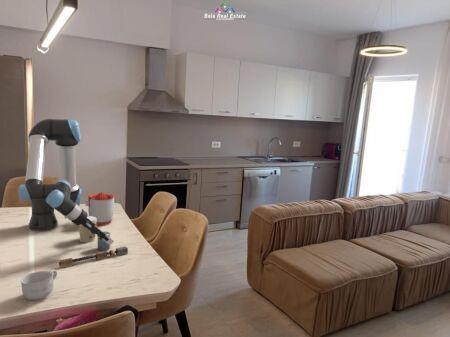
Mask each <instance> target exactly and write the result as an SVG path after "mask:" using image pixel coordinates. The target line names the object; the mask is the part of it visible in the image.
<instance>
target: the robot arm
mask: <svg viewBox="0 0 450 337" xmlns="http://www.w3.org/2000/svg"><path fill="white" fill-rule="evenodd" d="M81 140H82V136H81V128H80V124H79V122H78V120H74V119H58V118H57V119H56V118H55V119H53V118H45V119H42V120H39V121H38V122H37V123H36V124H34V125H33V126H32V127H31V129H30V131H29V133H28V138H27V141H28V143H29V147H28V148H29V149H28V155H27V156H28V157H27V163H26V172H25V180H24V183H23V184H20V185H18V192H17V193H18V198H19V200H20V201H31V217H30V218H29V223H28V229H29V230H32V231H49V230H51V229H52V230H53V229H55V228H57V227H58V226H59V224H58V219H57V217H56V214H55V211H57V212H59V213H60V214H61V215H62V216H64V219H65V220H66V219H68V220H69V221H70V222H71V223H72V224H74V225H75V226H79V225H80V224H82V225H83V226H84V227H86V228H88V229H89V230H91V231H93V232H94V233H95V234H96V236H97V235H98V236H99V237H100V240H101V239H103V240H104V241H105V242H106V243H108V244H109V245H110V246H112V244H114V240H113V239H112V238H111V236H110V237H108V236H107V235H106V234H104V233H103V232H104V231H102V230H101V229H100V228H99V227H98V226H97V225H96V226H95V224H94V223H92V222H91V221H90V220H89V219H88V218H87V216H89V213H88V212H87V211H85V210H84V209H83V208H82V207H81V200H82V192H83V191H82V190H83V189H82V188H80V185H78V184H77V164H76V156H77V155H76V147H77V146H78V145H79V142H81ZM49 141H52V142H53V141H54V143H55V145H56V146H57V147H58V164H59V167H58V168H59V180H58V181H56V182H55V183H44V174H45V164H46V163H45V161H46V150H47V145H48V144H49ZM98 236H97V237H98Z"/></svg>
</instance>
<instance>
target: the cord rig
mask: <svg viewBox="0 0 450 337" xmlns="http://www.w3.org/2000/svg"><path fill="white" fill-rule="evenodd" d="M128 254H129V248H128V247H127V246H126V245H125V246H120V247H116V248H115V250H114V249H109V250H106V251H98V252H95V254H92V255H91V254H90V255H87V256H82V257H77V258H72V257H70V258H69V257H68V258H64V259H59V261H58V266H59V268H60V269H64V268H68V267H73V265H74V263H76V262H77V263H78V262H82V261H87V260H90V259H91V260H92V259H95V260H96V261H99V260H104V259H108V257H109V256H115V255H116V256H118V257H121V256H125V255H128Z"/></svg>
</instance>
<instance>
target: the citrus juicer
mask: <svg viewBox="0 0 450 337" xmlns="http://www.w3.org/2000/svg"><path fill="white" fill-rule="evenodd" d="M87 198H88V199H87V201H86V202H85V204H84V207H88V216H94V217H96V219H97V222H96V226H106V225H109V224H111V223H112V221H113V218H114V214H115V195H114V194H111V193H104V192H103V191H100V192H99V193H93V194H90V195H88V197H87Z"/></svg>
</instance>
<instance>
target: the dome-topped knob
mask: <svg viewBox="0 0 450 337" xmlns="http://www.w3.org/2000/svg"><path fill="white" fill-rule="evenodd" d="M102 232H103V233H104V234H106V235H107V236H108V237H110V238H111V232H109V231H102ZM96 237H97V250H98V252H102V251H110V250H111V245H109V244H108V243H106V242H105V241H104V240H103V239H101V240H100V237H99V236H98V235H97V234H96Z"/></svg>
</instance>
